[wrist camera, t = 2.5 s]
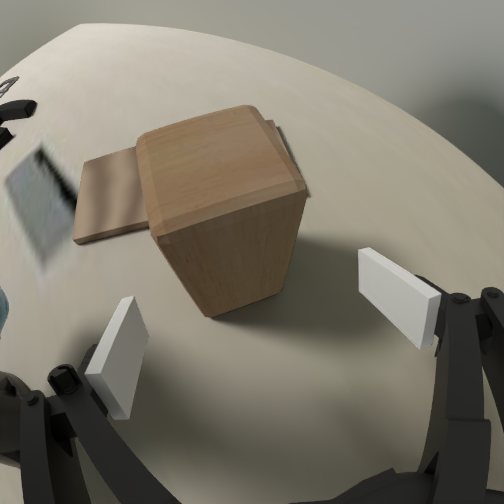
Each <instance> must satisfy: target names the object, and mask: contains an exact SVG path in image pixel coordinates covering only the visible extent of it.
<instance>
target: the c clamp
mask: <svg viewBox="0 0 504 504" xmlns="http://www.w3.org/2000/svg"><path fill="white" fill-rule="evenodd" d="M18 79H19V77H18V76H17V77H14V78H11V79H8V80H6V81H4V82H3V83H2V84H0V87H2V86H3V85H4V84H7V83H9V84H8V85H7V86H6V87H5V88H4V89H2V90H0V93H3V94H4V93H5V92H7V91H8V89H9V87H10V86H12V85H13V84H14V83H15V82H16V81H17V80H18ZM3 94H2V95H1V96H0V98H1V97H2V96H3Z"/></svg>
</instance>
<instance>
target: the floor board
mask: <svg viewBox="0 0 504 504" xmlns="http://www.w3.org/2000/svg"><path fill="white" fill-rule="evenodd" d="M266 123H267V124H268V125H269V127H270V128H271V130H272V131H273V133H274V134H275V136H276V137H277V139H278V140H279V142H280V143H281V145H282V146H283V148H284V149H285V151H286V152H287V150H286V148H285V145H284V143H283V141H282V139H281V136H280V134H279V132H278V130H277V128H276V126H275V123H274V121H273V120H266ZM287 154H288V152H287ZM288 156H289V154H288ZM145 227H149V223H148V218H147V213H146V208H145V203H144V197H143V192H142V186H141V180H140V174H139V168H138V162H137V155H136V146H135V147H132V148H128V149H125V150H121V151H118V152H115V153H111V154H108V155H105V156H102V157H99V158H96V159H93V160H90V161H87V162H84V166H83V171H82V176H81V181H80V187H79V193H78V200H77V207H76V214H75V223H74V232H73V241H74V242H75V243H76V244H77V245H78V244H82V243H85V242H89V241H93V240H97V239H101V238H104V237H108V236H112V235H116V234H120V233H124V232H128V231H133V230H137V229H141V228H145Z"/></svg>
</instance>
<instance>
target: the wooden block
mask: <svg viewBox="0 0 504 504" xmlns="http://www.w3.org/2000/svg"><path fill="white" fill-rule="evenodd" d="M136 155H137V162H138V168H139V174H140V180H141V186H142V192H143V197H144V203H145V208H146V213H147V218H148V223H149V227H150V232H151V236H152V238H153V239H154V241H155V242H156V244H157V246H158V247H159V249H160V251H161V252H162V254H163V255H164V257H165V258H166V260H167V262H168V263H169V265H170V266H171V268H172V269H173V271H174V272H175V274H176V276H177V277H178V279H179V280H180V282H181V283H182V285H183V286H184V288H185V289H186V291H187V292H188V294H189V295H190V297H191V298H192V300H193V301H194V302H195V304H196V305H197V307H198V308H199V310H200V311H201V312H202V314H203V315H204V316H205V317H214V316H217V315H220V314H223V313H226V312H229V311H231V310H234V309H237V308H240V307H243V306H245V305H248V304H251V303H254V302H256V301H259V300H262V299H265V298H267V297H270V296H273V295H275V294H278V293H279V292H280V291H281V290H282V288H283V285H284V281H285V278H286V274H287V270H288V267H289V263H290V260H291V256H292V252H293V249H294V245H295V241H296V237H297V234H298V230H299V226H300V222H301V218H302V214H303V210H304V207H305V203H306V199H307V187H306V184H305V181H304V179H303V178H302V176H301V174H300V173H299V171H298V170H297V168H296V167H295V165H294V163H293V162H292V160H291V159H290V157H289V156H288V154H287V152H286V151H285V149H284V148H283V146H282V145H281V143H280V142H279V140H278V139H277V137H276V136H275V134H274V133H273V131H272V130H271V128H270V127H269V125H268V124H267V123H266V121H265V120H264V118H263V117H262V115H261V114H260V113H259V111H258V110H257V108H256V107H254V106H251V105H242V106H238V107H233V108H229V109H225V110H221V111H217V112H213V113H209V114H205V115H202V116H198V117H194V118H191V119H187V120H184V121H181V122H177V123H174V124H171V125H168V126H165V127H162V128H159V129H156V130H153V131H150V132H147V133H144V134H143V135H142V136H140V137H139V138H138V140H137V143H136Z"/></svg>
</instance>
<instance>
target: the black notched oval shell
mask: <svg viewBox="0 0 504 504" xmlns="http://www.w3.org/2000/svg"><path fill="white" fill-rule="evenodd" d="M35 104H36V102H35V101H34V100H16V101H12V102H8V103H5V104H2V105H0V123H1V122H2V121H8V120H15V119H23V118H29V116H30V115H31V113H32V111H33V109H34V107H35ZM12 137H13V136H12V135H11V133H10V132H9V130H8V129H7V128H4V127H0V148H1V147H2V146H3V145H4V144H6V143H7V142H8V141H9V140H10V139H11V138H12Z"/></svg>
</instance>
